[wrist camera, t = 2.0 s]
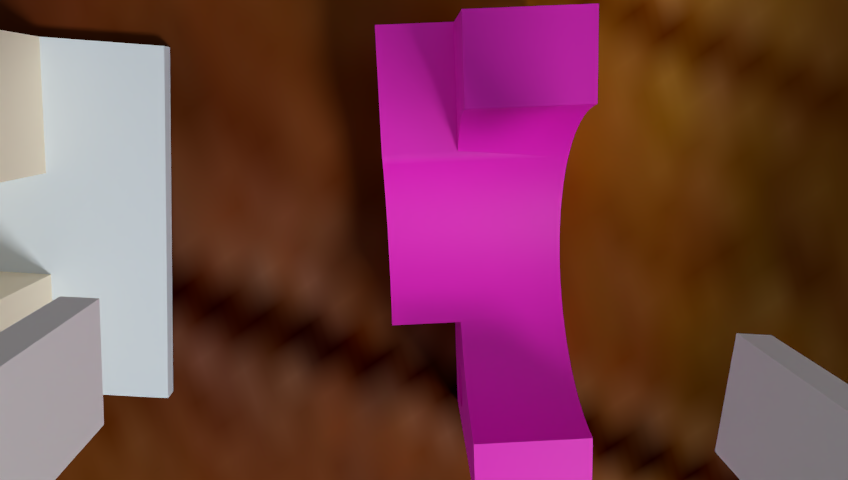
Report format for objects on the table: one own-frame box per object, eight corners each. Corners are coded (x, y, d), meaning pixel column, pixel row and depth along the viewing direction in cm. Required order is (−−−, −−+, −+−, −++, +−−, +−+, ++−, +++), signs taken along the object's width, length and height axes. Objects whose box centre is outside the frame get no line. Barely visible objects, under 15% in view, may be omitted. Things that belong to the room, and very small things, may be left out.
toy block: (380, 37, 25) (369, 12, 18) (542, 31, 25) (598, 3, 18) (399, 400, 28) (397, 506, 21) (543, 393, 28) (591, 495, 21)
